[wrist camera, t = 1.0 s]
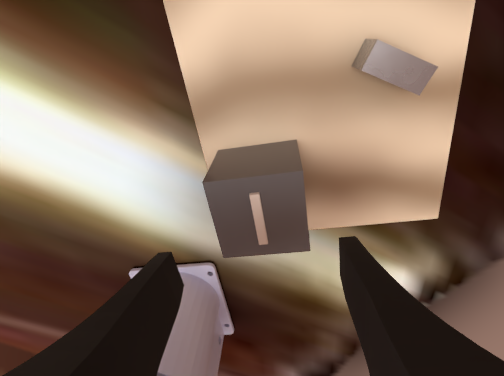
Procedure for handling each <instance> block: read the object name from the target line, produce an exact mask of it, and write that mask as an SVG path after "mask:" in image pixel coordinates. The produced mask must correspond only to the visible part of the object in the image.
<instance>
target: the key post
mask: <svg viewBox="0 0 504 376" xmlns="http://www.w3.org/2000/svg"><path fill="white" fill-rule="evenodd" d="M352 67H354V68H357V69H359V70H361V71H363V72H366V73H368V74H370V75H373V76H375V77H377V78H380V79H382V80H384V81H387V82H389V83H391V84H394V85H396V86H398V87H401V88H403V89H405V90H408V91H410V92H412V93H414V94H417V95H419V96H420V94H421V93H422V91H423V89H424V88H425V86H426V85H427V83H428V82H429V80H430V79H431V77H432V76H433V74H434V73H435V71H436V70H437V68H438V66H436V65H433V64H431V63H429V62H427V61H424V60H422V59H420V58H418V57H416V56H413V55H411V54H409V53H407V52H404V51H402V50H400V49H398V48H395V47H393V46H391V45H389V44H387V43H384V42H382V41H380V40H378V39H365V40H364V42H363V44H362V46H361V48H360V50H359V52H358V54H357V56H356V58H355V60H354V62H353V64H352Z"/></svg>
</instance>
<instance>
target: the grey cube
mask: <svg viewBox="0 0 504 376" xmlns="http://www.w3.org/2000/svg"><path fill="white" fill-rule="evenodd" d="M203 186H204V190H205V194H206V197H207V201H208V204H209V208H210V211H211V215H212V219H213V222H214V226H215V229H216V233H217V236H218V240H219V243H220V247H221V251H222V254H223V258H228V257H241V256H253V255H266V254H279V253H291V252H304V251H310V243H309V231H308V220H307V209H306V198H305V187H304V176H303V168H302V163H301V158H300V154H299V149H298V144H297V139H296V140H289V141H281V142H274V143H267V144H259V145H252V146H244V147H237V148H230V149H222V150H218V151H217V153H216V155H215V158H214V160H213V162H212V164H211V166H210V168H209V170H208V172H207V174H206V176H205V178H204V180H203Z"/></svg>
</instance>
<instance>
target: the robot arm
mask: <svg viewBox="0 0 504 376" xmlns="http://www.w3.org/2000/svg"><path fill="white" fill-rule="evenodd" d="M339 251H340V276H341V281H342V286H343V290H344V294H345V299H346V302H347V305H348V308H349V311H350V314H351V317H352V320H353V323H354V325H355V328H356V331H357V334H358V337H359V340H360V343H361V346H362V349H363V352H364V355H365V359H366V362H367V365H368V369H369V373H370V376H504V361H503V360H501V359H499V358H498V357H496V356H495V355H493V354H492V353H490V352H488V351H487V350H485V349H484V348H482V347H480V346H479V345H477V344H476V343H474V342H473V341H472V340H470V339H468V338H467V337H466V336H464V335H463V334H461V333H460V332H458V331H457V330H455V329H454V328H453V327H451V326H450V325H448V324H447V323H445V322H444V321H443V320H442V319H440V318H439V317H438V316H436V315H435V314H434V313H433V312H431V311H430V310H429V309H428V308H426V307H425V306H424V305H423V304H421V303H420V302H419V301H418V300H417V299H415V298H414V297H413V296H412V295H411V294H410V293H409V292H408V291H406V290H405V289H404V288H403V287H402V286H401V285H400V284H399V283H398V282H397V281H396V280H395V279H394V278H393V277H392V276H391V275H390V274H389V273H388V272H387V271H386V270H385V269H384V268H383V267H382V266H381V265H380V264H379V263H378V262H377V261H376V260H375V259H374V258H373V256H372V255H371V254H370V253H369V252H368V251H367V250H366V248H365V247H364V246H363V245H362V244H361V242H360V241H359V240H358V238H356V237H355V236H353V237H341V238H339ZM210 272H212V273H210ZM129 275H130V277H131V280H130V281H129V282H128V283H127V284H126V285H125V286H124V287H122V288H121V289H120V290H119V291H118V292H117V293H116V294H115V295H114V296H113V297H111V298H110V299H109V300H108V301H107V302H106V303H105V304H104V305H103V306H101V307H100V308H99V309H98V310H97V311H96V312H94V313H93V314H92V315H91V316H90V317H88V318H87V319H86V320H84V321H83V322H82V323H81V324H79V325H78V326H77V327H76V328H74V329H73V330H72V331H70V332H69V333H67V334H66V335H64V336H63V337H62V338H60V339H59V340H57V341H56V342H55V343H53V344H52V345H50V346H49V347H47V348H46V349H45V350H43V351H41V352H40V353H38V354H37V355H35V356H34V357H32V358H31V359H29V360H28V361H26V362H24V363H23V364H21V365H20V366H18V367H16V368H14V369H13V370H11V371H9V372H8V373H6V374H4V375H3V376H217V375H218V369H219V363H220V357H221V351H222V345H223V339H224V335H229V334H233V333H234V326H233V323H232V320H231V316H230V313H229V310H228V307H227V303H226V300H225V297H224V294H223V290H222V287H221V284H220V280H219V277H218V274H217V271H216V267H215V265H214V264H213V263H196V264H183V265H176V263H175V260H174V257H173V255H172V252H164V253H158V254H157V255H156V256H154V257H153V258H152V259H151V260H150V261H149V262H148V263H147V264H146V265H145V266H144V267H143V268H133V269H131V270H130V272H129Z"/></svg>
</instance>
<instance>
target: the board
mask: <svg viewBox="0 0 504 376" xmlns="http://www.w3.org/2000/svg"><path fill="white" fill-rule="evenodd" d="M163 2H164V6H165V10H166V14H167V17H168V21H169V25H170V29H171V33H172V36H173V40H174V44H175V48H176V51H177V55H178V59H179V63H180V67H181V70H182V74H183V78H184V82H185V85H186V89H187V93H188V97H189V101H190V104H191V108H192V112H193V116H194V119H195V123H196V127H197V131H198V135H199V138H200V142H201V146H202V150H203V153H204V157H205V161H206V165H207V169H208V170H209V168H210V166H211V164H212V162H213V160H214V158H215V155H216V153H217V151H218V150H222V149H230V148H237V147H244V146H252V145H259V144H267V143H274V142H281V141H289V140H296V139H297V144H298V149H299V154H300V158H301V163H302V168H303V176H304V187H305V198H306V209H307V220H308V230H314V229H326V228H337V227H348V226H359V225H370V224H381V223H392V222H404V221H415V220H426V219H437V218H438V214H439V208H440V202H441V197H442V191H443V185H444V179H445V173H446V168H447V162H448V156H449V150H450V145H451V139H452V133H453V127H454V121H455V116H456V110H457V104H458V98H459V92H460V87H461V81H462V75H463V69H464V63H465V58H466V52H467V46H468V40H469V34H470V29H471V23H472V17H473V11H474V5H475V0H163ZM365 39H378V40H380V41H382V42H384V43H387V44H389V45H391V46H393V47H395V48H398V49H400V50H402V51H404V52H407V53H409V54H411V55H413V56H416V57H418V58H420V59H422V60H424V61H427V62H429V63H431V64H433V65H436V66H438V68H437V70H436V71H435V73H434V74H433V76H432V77H431V79H430V80H429V82H428V83H427V85H426V86H425V88H424V89H423V91H422V93H421V94H420V96H419V95H417V94H414V93H412V92H410V91H408V90H405V89H403V88H401V87H398V86H396V85H394V84H391V83H389V82H387V81H384V80H382V79H380V78H377V77H375V76H373V75H370V74H368V73H366V72H363V71H361V70H359V69H357V68H354V67H352V64H353V62H354V60H355V58H356V56H357V54H358V52H359V50H360V48H361V46H362V44H363V42H364V40H365Z"/></svg>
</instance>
